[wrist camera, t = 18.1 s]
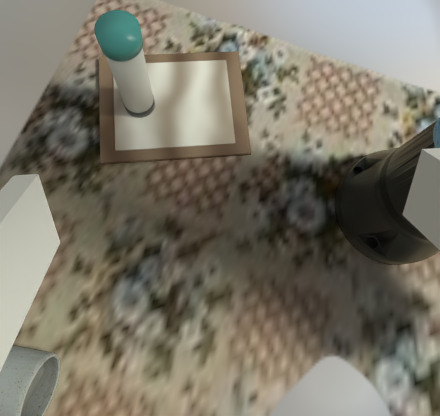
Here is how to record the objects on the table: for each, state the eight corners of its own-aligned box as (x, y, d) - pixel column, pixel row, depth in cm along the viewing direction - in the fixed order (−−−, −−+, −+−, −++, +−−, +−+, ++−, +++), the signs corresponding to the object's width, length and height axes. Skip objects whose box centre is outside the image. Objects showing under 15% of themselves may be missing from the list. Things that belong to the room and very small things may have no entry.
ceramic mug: (-3, 335, 41) (-48, 346, 33) (67, 348, 41) (37, 361, 33) (-34, 436, 38) (-91, 472, 31) (40, 449, 38) (2, 488, 31)
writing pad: (238, 54, 52) (238, 50, 51) (250, 154, 48) (251, 152, 47) (99, 59, 50) (98, 55, 49) (101, 164, 46) (99, 162, 46)
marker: (155, 89, 49) (139, 10, 35) (156, 118, 48) (140, 47, 34) (123, 90, 48) (95, 10, 35) (123, 119, 47) (93, 48, 34)
